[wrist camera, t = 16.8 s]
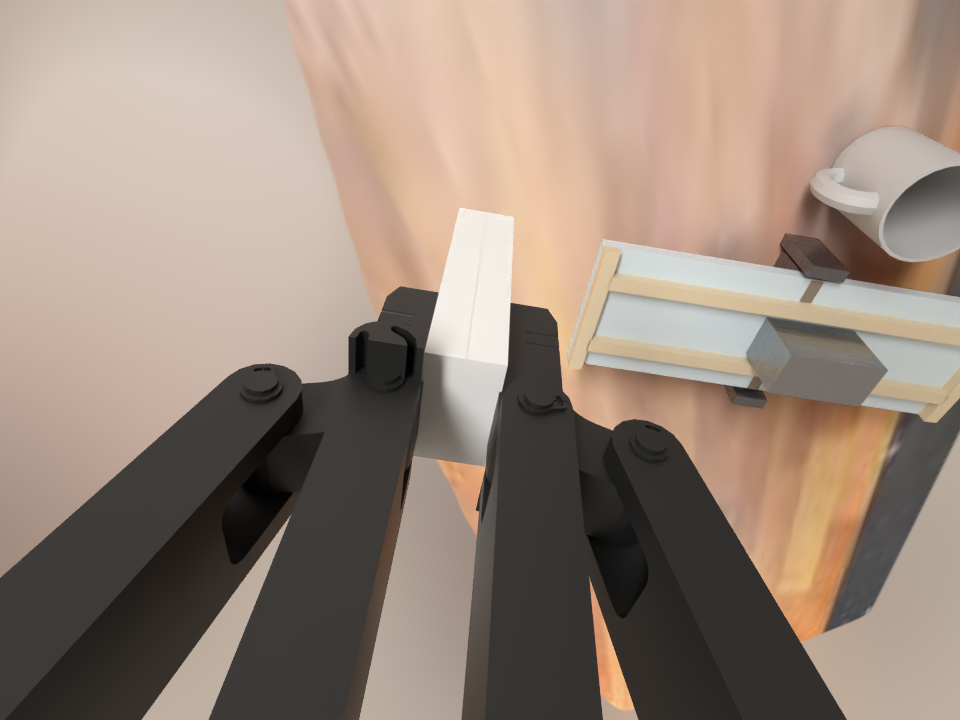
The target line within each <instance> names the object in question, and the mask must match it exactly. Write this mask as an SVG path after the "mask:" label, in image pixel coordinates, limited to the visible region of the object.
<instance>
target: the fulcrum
mask: <svg viewBox="0 0 960 720" xmlns="http://www.w3.org/2000/svg"><path fill="white" fill-rule="evenodd" d="M780 244H781V246H782V247H783V248H784V249H785V250H782V252H781V254H780V256H779V257H778V259H777V261H776V263H775V265H774V267H777V268H783V269H789V270H795V271H802V272H804V273H805V274H806V276H807V277H812V278H818V279H824V280H830V281H836V282H842V283H844V281H845V279H846V278H847V276H848V275H849V273H850V271H849V270H848V269H847V268H846V267H845V266H844V265H843V264H842V263H841V262H840V261H839V260H838V259H837V258H836V257H835V256H834V255H833V254H832V253H831V252H830V251H829V250H828V249H827V248H826V247H825V245H824V244H823V243H822V242H821V241H820V240H819V239H815V238H809V237H803V236H797V235H791V234H786V233H785V235H784V237H783V239H782V241H781V243H780ZM724 386H725V388H726V390H727V393H728V395H729V397H730V399H731V402H732V404H739V405H745V406H751V407H757V408H763V407H764V405H765V404H766V402H767V399H766V397H765V395H764V393H763V391H762V390H756V389H749V388H743V387H736V386H729V385H724Z"/></svg>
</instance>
